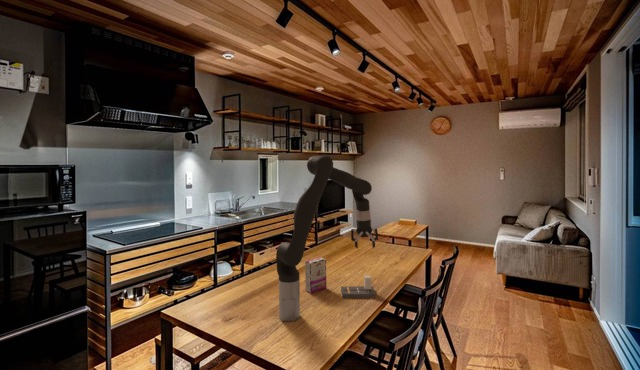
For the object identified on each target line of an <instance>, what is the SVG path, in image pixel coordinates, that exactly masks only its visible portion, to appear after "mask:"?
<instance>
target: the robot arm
mask: <svg viewBox="0 0 640 370" xmlns="http://www.w3.org/2000/svg"><path fill="white" fill-rule="evenodd" d="M306 168H307V170H308V172H309V173H310V174H311V175H313V176H314V177H313V180H312V182H311V183H310V185H309V186H308V187H307V189H305V191H304V192H303V193H302V194H301V196H300V197H299V199H298V201H297V203H296V206H295V209H294V211H293V212H294V213H293V234H292V237H291V240H290V242H288V241H285V242H282V243H281V244H279V246H278V247H277V248H276V254H275V257H276V258H275V259H276V260H275V261H276V272H277V276H278V317H279V319H280V320H281V322H296V321H297V320H298V319H299V318H300V315H301V314H300V313H301V308H300V307H301V306H300V304H301V303H300V297H301V296H300V291H301V290H300V289H301V288H300V284H301V283H300V282H301V281H300V271H299V270H298V269H297V266H298V265H299V264H300V263H301V262H302V259H303V256H304V254H305V253H304V252H305V248H306V245H307V240H308V237H309V233H310V230H311V227H312V224H313V221H314V219H315V217H316V213H317V210H318V207H319V204H320V202H321V199H322V196H323V193H324V191H325V188H326V186H327V183H328V181H329V180H330V181H332V182H334V183H337V184H338V185H341V186H342V187H344V188H346V189H348V190H351V193H352V195H353V199H354V202H355V211H356V212H355V218H356V229H354V228H351V231H350V233H351V234H350V239H351V241H352V242H354V247H355V248H356V249H358V248H359V245H358V240H359V239H360V238H368V237H369V238H370V239H371V244H372V245H371V246H372V249H374V248H375V247H376V241H378V240H379V233H378V228H377V227H375V228H372V220H371V219H372V217H371V209H370V200H369V199H368V198H366V197H365V196H367V195H370V193H372V190H373V189H372V188H373V187H372V184H371V183H370V182H369V181H368V180H366V179H362V178H359V177H357V176H355V175H353V174H352V173H349V172H348V171H346V170H345V171H344V170H342V169H340V168H336V167H334V161H333V158H331V157H330V156H328V155H312V156H310V157H309V159H308V160H307V162H306ZM372 232H373V233H374V235H375V237H374V235H372ZM355 233H357V235H356V236H355V237H354V235H355Z"/></svg>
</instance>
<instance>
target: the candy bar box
mask: <svg viewBox="0 0 640 370" xmlns="http://www.w3.org/2000/svg"><path fill="white" fill-rule="evenodd" d="M304 271H305V272H304V276H305V278H304V279H305V291H306V292H307V293H309V294H313V293H316V292H319V291H322V290H324V289H327V259H326V258H324V257H322V256H321V257H320V256H319V257H317V258H313V259H309V260H306V261H304Z"/></svg>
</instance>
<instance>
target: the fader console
mask: <svg viewBox="0 0 640 370" xmlns="http://www.w3.org/2000/svg"><path fill="white" fill-rule="evenodd" d="M340 292H341V293H340V294H341V297H342V299H361V298H362V299H363V298H364V299H370V298H371V299H372V298H373V299H374V298H375V299H376V297H377V293H376V291H375V288H374V287H373V286H372V285H371V289H369V290H366V289H365V287H364V285H363V286H361V285H360V286H359V285H358V286H357V285H356V286H355V285H353V286H352V285H351V286H348V285H347V286H345V285H343V286H340Z"/></svg>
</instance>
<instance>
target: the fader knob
mask: <svg viewBox="0 0 640 370" xmlns="http://www.w3.org/2000/svg"><path fill="white" fill-rule="evenodd" d="M363 286H364V287H365V289H366V290H369V289H371V286H372V276H371V275H370V274H369V275H368V274H365V275H363Z"/></svg>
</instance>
